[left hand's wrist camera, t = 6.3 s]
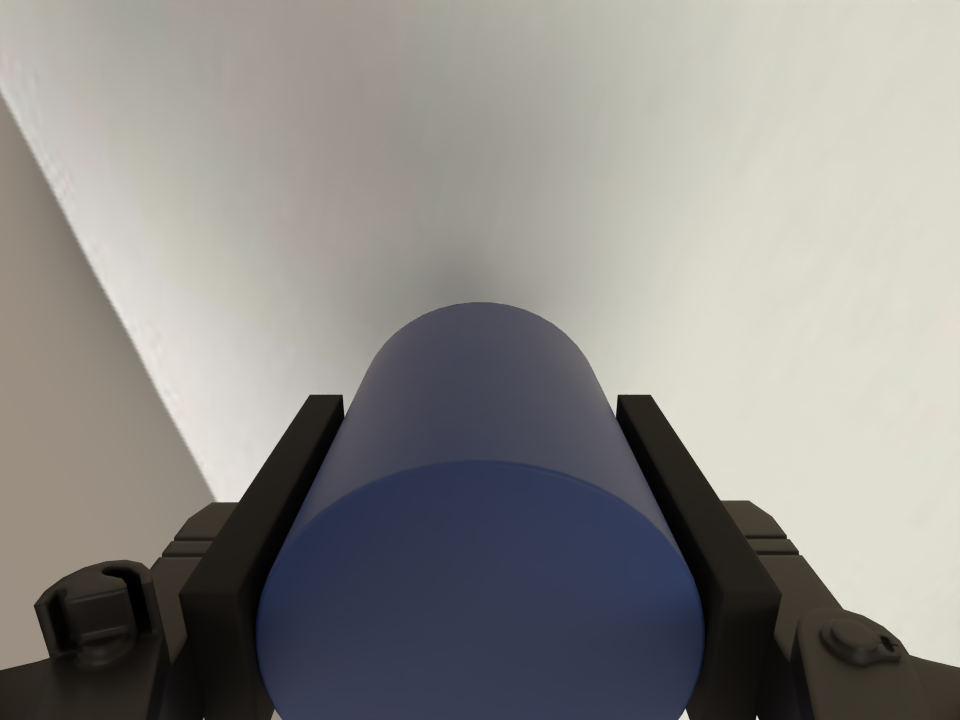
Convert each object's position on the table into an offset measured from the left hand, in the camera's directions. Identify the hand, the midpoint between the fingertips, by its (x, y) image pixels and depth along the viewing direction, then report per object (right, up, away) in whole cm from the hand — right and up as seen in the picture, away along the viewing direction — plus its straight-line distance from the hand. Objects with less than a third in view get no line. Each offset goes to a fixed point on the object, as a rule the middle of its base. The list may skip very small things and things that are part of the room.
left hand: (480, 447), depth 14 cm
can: (0, +1, +1) cm, 2 cm away
